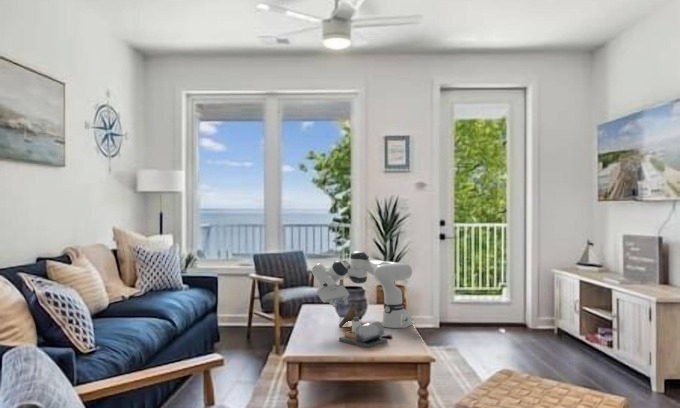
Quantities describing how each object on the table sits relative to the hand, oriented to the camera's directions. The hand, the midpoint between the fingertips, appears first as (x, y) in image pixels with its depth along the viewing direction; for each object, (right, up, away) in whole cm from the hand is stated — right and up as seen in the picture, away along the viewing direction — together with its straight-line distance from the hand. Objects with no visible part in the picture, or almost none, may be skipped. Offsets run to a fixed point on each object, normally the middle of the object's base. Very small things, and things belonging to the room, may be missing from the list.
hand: (341, 305), depth 337 cm
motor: (+12, -19, -11) cm, 25 cm away
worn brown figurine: (+5, -18, +27) cm, 33 cm away
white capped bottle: (+9, -17, -7) cm, 20 cm away
